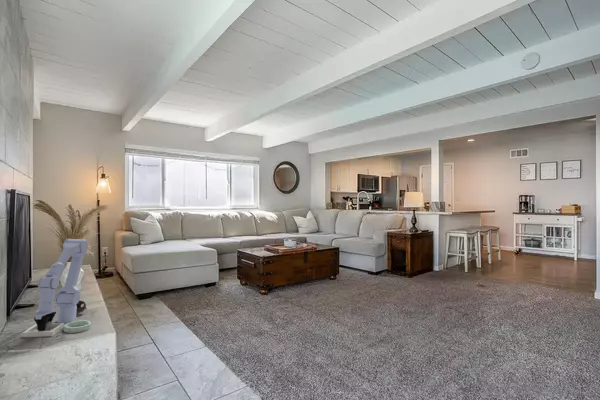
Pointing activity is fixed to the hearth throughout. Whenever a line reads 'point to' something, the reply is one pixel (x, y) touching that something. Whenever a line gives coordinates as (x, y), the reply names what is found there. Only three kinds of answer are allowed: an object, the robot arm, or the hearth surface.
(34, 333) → the parts tray
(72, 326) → the sage bowl
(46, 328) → the grey short cylinder
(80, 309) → the pottery mug
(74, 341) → the hearth surface
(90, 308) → the hearth surface
